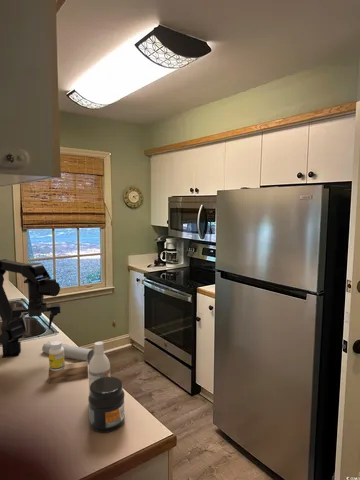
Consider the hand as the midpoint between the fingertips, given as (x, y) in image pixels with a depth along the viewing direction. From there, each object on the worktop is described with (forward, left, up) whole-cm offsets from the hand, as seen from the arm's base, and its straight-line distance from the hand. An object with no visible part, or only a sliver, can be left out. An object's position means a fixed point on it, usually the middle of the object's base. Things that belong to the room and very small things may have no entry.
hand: (37, 330), depth 138 cm
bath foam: (+22, -38, -13) cm, 46 cm away
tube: (+11, 0, -14) cm, 17 cm away
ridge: (+12, -18, -13) cm, 25 cm away
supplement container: (+23, -50, -13) cm, 57 cm away
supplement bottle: (+8, -18, -9) cm, 22 cm away
